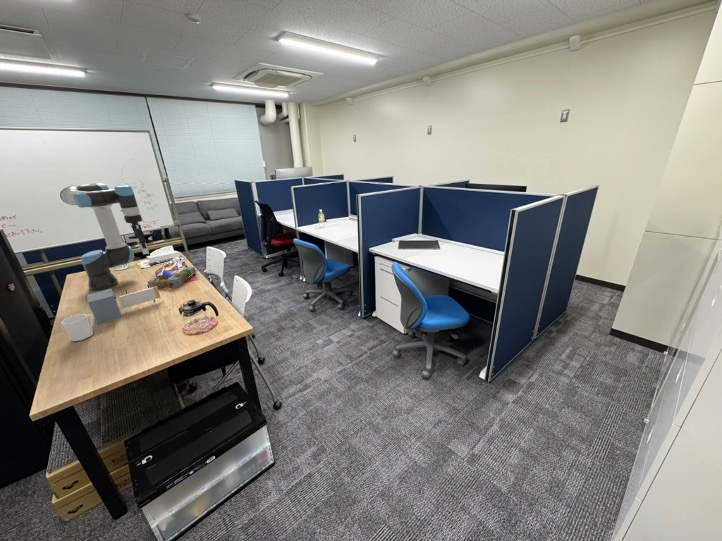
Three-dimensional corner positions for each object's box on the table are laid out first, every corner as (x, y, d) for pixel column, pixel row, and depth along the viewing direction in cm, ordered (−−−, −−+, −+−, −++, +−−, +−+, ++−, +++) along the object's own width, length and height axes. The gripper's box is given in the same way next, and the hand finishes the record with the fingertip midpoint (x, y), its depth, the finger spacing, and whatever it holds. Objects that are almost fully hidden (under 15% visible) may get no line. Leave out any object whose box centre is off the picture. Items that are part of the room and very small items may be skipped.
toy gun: (171, 276, 210) (199, 274, 210) (147, 292, 185) (178, 289, 185) (169, 267, 208) (196, 265, 208) (143, 282, 183) (175, 279, 183)
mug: (74, 344, 134) (64, 326, 130) (67, 339, 138) (58, 320, 134) (103, 332, 142) (95, 314, 138) (96, 327, 147) (88, 310, 143)
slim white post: (122, 307, 160) (118, 296, 158) (160, 296, 171) (156, 286, 169) (122, 308, 159) (118, 297, 157) (160, 297, 170) (157, 286, 168)
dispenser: (96, 315, 158) (87, 294, 153) (120, 308, 164) (112, 288, 159) (97, 324, 149) (88, 302, 144) (123, 316, 156) (114, 295, 151)
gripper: (121, 213, 166) (133, 248, 174) (126, 219, 149) (139, 257, 157) (137, 210, 171) (148, 245, 179) (144, 216, 153) (156, 254, 162)
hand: (144, 251), depth 168 cm, fingers open, 13 cm apart
